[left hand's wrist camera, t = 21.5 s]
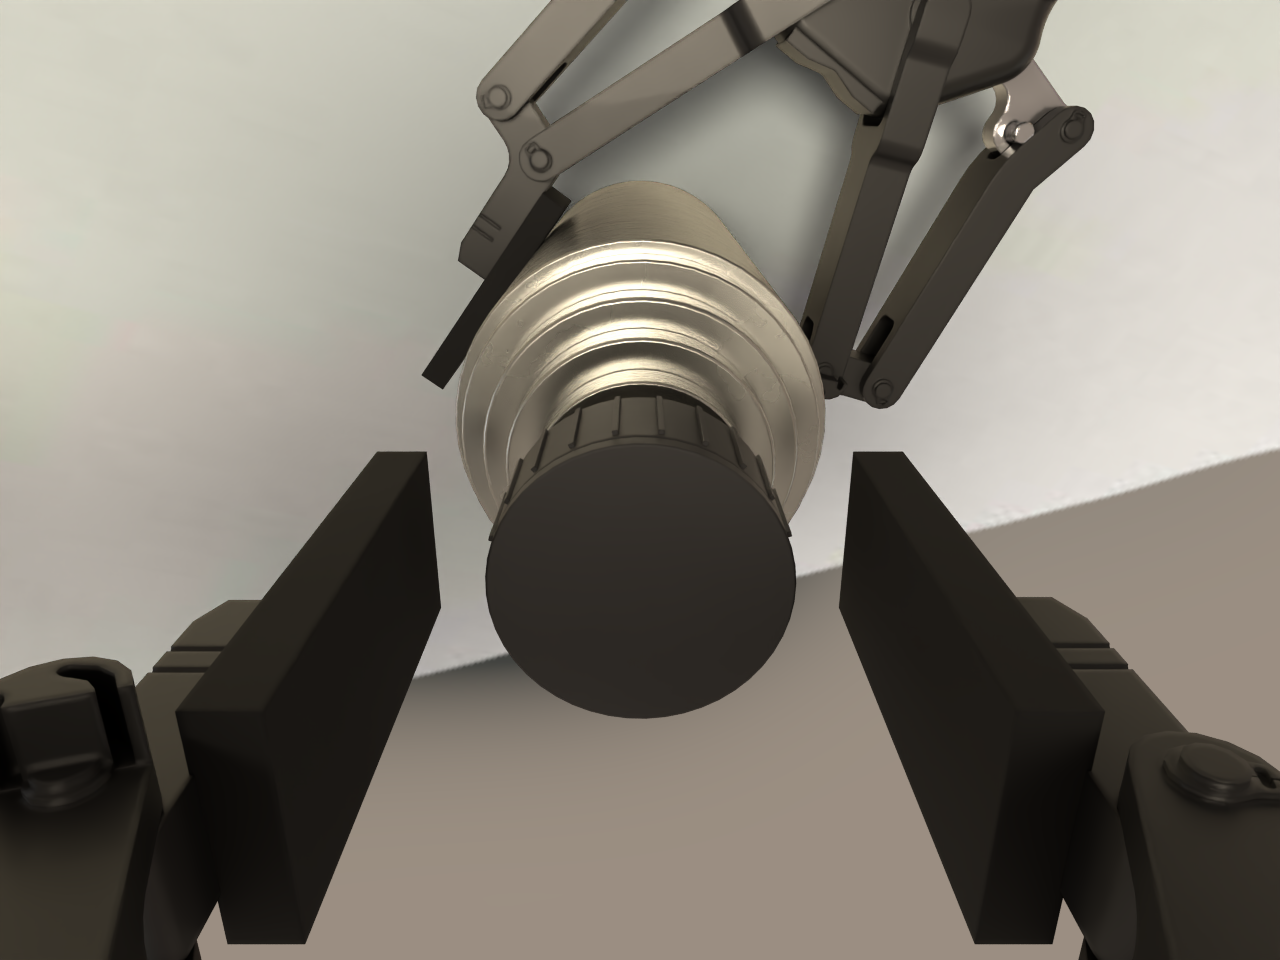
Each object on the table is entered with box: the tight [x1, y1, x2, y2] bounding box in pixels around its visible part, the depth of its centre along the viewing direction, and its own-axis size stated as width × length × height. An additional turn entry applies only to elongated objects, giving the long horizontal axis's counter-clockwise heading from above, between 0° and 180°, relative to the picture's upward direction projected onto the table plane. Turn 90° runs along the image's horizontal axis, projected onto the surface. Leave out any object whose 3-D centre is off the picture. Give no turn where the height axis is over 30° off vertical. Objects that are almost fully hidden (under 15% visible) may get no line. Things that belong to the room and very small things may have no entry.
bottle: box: [456, 181, 825, 524], centre depth 24 cm, size 8×8×23 cm
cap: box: [485, 396, 796, 719], centre depth 14 cm, size 4×4×2 cm
